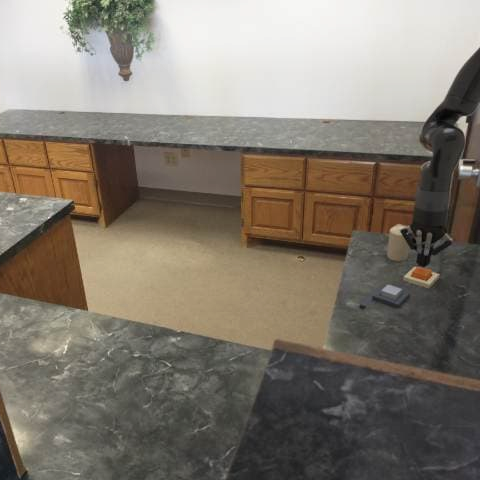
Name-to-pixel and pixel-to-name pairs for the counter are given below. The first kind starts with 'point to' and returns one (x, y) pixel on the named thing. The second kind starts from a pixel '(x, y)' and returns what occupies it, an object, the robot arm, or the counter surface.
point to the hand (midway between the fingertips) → (422, 265)
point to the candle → (397, 244)
